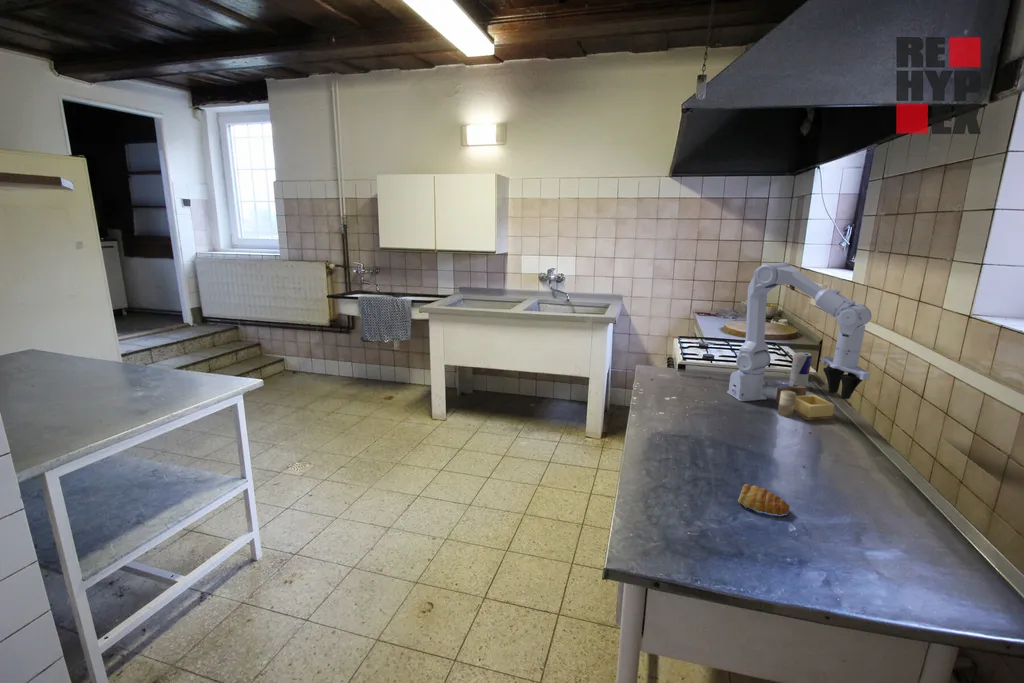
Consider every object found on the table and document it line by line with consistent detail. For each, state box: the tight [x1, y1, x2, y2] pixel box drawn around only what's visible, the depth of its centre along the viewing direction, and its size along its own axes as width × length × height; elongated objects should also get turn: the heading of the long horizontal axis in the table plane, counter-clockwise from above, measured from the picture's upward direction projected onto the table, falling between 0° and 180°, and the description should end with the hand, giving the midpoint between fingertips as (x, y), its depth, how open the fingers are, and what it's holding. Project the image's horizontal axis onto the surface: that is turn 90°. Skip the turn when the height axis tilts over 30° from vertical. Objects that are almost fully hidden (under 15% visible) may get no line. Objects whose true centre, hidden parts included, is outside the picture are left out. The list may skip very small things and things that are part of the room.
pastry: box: [737, 483, 790, 515], centre depth 102 cm, size 9×7×4 cm
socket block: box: [794, 394, 835, 418], centre depth 147 cm, size 8×8×4 cm
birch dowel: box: [777, 390, 796, 418], centre depth 146 cm, size 4×4×7 cm
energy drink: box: [788, 351, 812, 388], centre depth 168 cm, size 5×5×12 cm
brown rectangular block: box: [775, 386, 836, 421], centre depth 150 cm, size 9×14×5 cm, turn 9°
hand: (839, 395), depth 137 cm, fingers open, 4 cm apart
